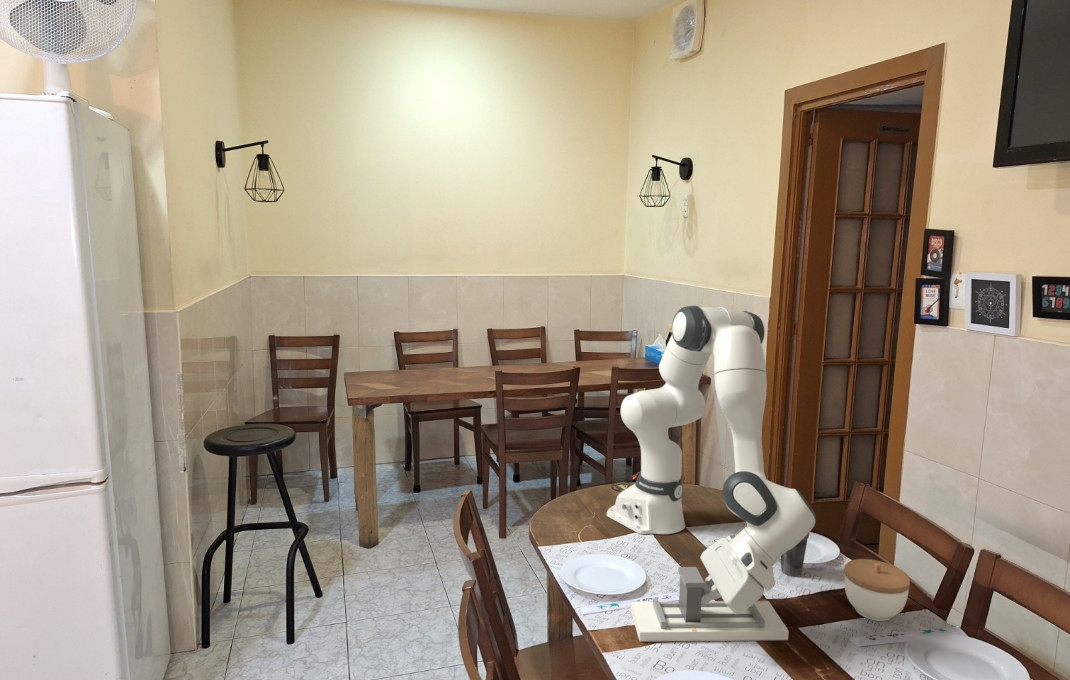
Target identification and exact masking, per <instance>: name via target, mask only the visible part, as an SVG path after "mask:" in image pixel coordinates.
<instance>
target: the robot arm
mask: <svg viewBox="0 0 1070 680" xmlns="http://www.w3.org/2000/svg"><path fill="white" fill-rule="evenodd" d="M765 331H766V330H765V326H764V322H763V320H762V319H761V317H760V316H759V315H757V314H755V313H753V312H750V311H747V310H738V309H734V308H729V307H724V306H723V307H722V306H719V307H715V306H698V305H687V306H684V307H683V306H682V307H681V308H679V309H678V311H676V313H675V314H674V316H673V319H672V323H671V336H670V337H669V340H668V343H667V344H666V347H665V350H664V352H663V354H662V357H661V360H660V362H659V364H658V371H659V374H660V377H661V378H662V380H663V381H664V382H665V384H663V385H662V386H661V387H659V388H653V389H646V390H640V391H637V392H636V391H635V392H634V393H632V394H630V395H626V396H625V397H624V399H623V400H622V402H621V405H620V417H621V420H622V422H623V424H624V425H625V426H626V427H627V428H628V429H629V430H630V431H632V433H633V434H634V435H635V437H636V438H637V440H638V443H639V446H640V447H639V448H640V471H639V472H637V473H636V474H634V475H632V480H636V481H635V483H634V484H632V485H630V486H629V487H626V488H625V489H623V490H622V491H621V492H620V493H618V495H617V497H616V500H615V504H614V505H612V506H611V507H609V508H608V509H607V511H606V517H608V518H610V519H611V520H613V521H615V522H617V523H619V524H621V525H622V526H624V527H626V528H628V529H630V530H631V531H634V532H636V533H637V534H639V535H650V534H652V535H653V534H655V535H656V534H657V535H670V534H675V533H679V532H682V531H683V530H684V529H685V527H686V523H685V518H684V513H683V506H682V496H683V487H684V486H683V483H684V481H683V479H684V478H683V475H682V468H683V467H682V465H683V452H682V449H681V447H680V446H679V444H678V443H676V442H675V441H673V440H671V439H670V438H669V437H670V435H669V428H674V427H680V426H686V425H689V424H691V423H694V422H695V421H698V420H700V419H701V418H702V417H703V416H704V414H705V411H706V400H705V397H704V394H703V393H702V392H701V390H700V389H699V384H700V380H701V377H702V375H703V374H704V371H705V368H706V366H707V364H708V361H709V360H710V356H711V355H712V356H713V374H714V375H713V377H714V389H715V392H716V398H717V402H718V405H719V408H720V410H721V411H722V412H721V413H723V415H724V417H725V419H726V421H727V424H728V426H729V429H730V431H731V436H732V444H733V445H732V446H733V457H734V459H733V461H734V473H732V474H731V475H729V476H728V477H727V479H726V480H725V481H724V484H723V486H722V492H721V494H722V498H723V502H724V504H725V506H726V507H727V509H728V510H729V511H730V512H731V513H732V514H734V515H735V516H737V517H738V518H739V519H741V520H742V521H744V522H746V526H745V527H744V528H743V529H741V531H740V532H738V533H737V534H736V535H735V534H733V535H726V536H725V537H722V538H719V539H717V541H715V542H713V544H711V545H710V546H708V547H707V548H706V549H705V550H704V551H703V552H702V553H701V555H700V561H701V562H702V564H703V566H704V567H705V569H706V571H707V574H708V576H707V577H706V578H705V579H704V580H703V581H704V583H705V584H704V587H702V599H701V602H702V603H703V604H704V605H706V604H707V603H709V602H710V601H714V600H717V599H720V598H721V599H722V601H724V602H725V604H726V605H727V606H728V607H729V608H730V609H731V610H732V611H733V612H734V613H735V614H740V613H743V612H744V611H746V610H747V609H748V608H750V607H751V606H752V605H753V604H754V603H755V602H756V601H759V599H760V598H762V596H763V595H764V593H765V590H766V591H770V590H771V589H773V588H774V587H775V585H776V581H775V575H774V567H773V566H775V565H776V564H777V563H778V562H779V561H780V560H781V556H782V555H783V553H785V552H786V551H788V550H790V549H792V548H793V547H795V546H796V545H797V544H798V543H799V542H800V541H801V540H802V539H803V538H804V537H805V536H806V535H807V534H808V533H809V532H811V531H812V529H813V528H814V527H815V524H816V519H817V517H816V514H815V513H816V512H815V511H814V509H813V508H812V505H810V503H809V502H808V501H807V499H806V498H805V497H804V496H803V493H801V491H799V490H797V489H796V488H789V487H786V486H783V485H780V484H777V483H775V482H773V481H770V480H768V478H767V474H766V471H765V470H766V469H765V462H764V461H765V460H764V451H763V450H764V449H763V437H762V433H763V431H762V430H763V422H764V421H763V420H764V415H765V414H764V413H765V406H766V400H767V389H768V388H767V387H768V386H767V384H768V379H767V367H766V366H767V365H766V360H765V354H764V350H763V345H762V344H763V342H764V339H765ZM809 534H810V533H809Z"/></svg>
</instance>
